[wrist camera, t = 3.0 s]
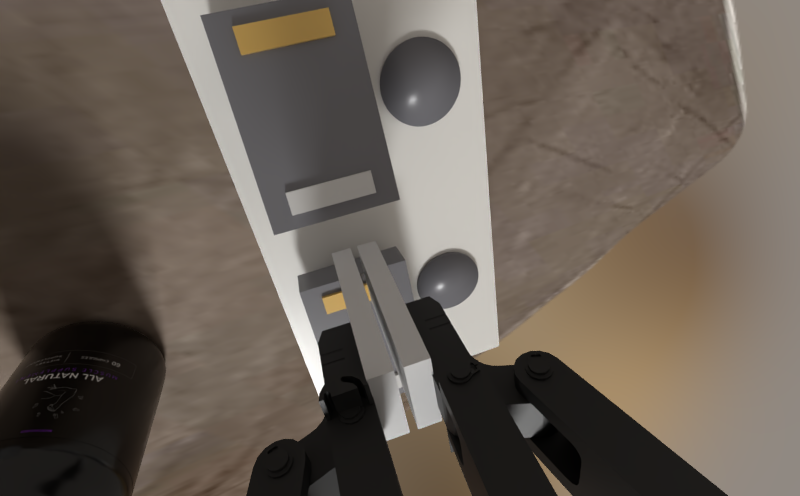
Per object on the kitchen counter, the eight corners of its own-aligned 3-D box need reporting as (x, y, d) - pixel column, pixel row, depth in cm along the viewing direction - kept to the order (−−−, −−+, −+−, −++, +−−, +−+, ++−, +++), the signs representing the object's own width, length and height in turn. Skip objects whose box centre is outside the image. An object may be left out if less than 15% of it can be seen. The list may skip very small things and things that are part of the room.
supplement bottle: (111, 295, 23) (-7, 516, 13) (192, 372, 26) (150, 591, 16) (-7, 356, 22) (-224, 632, 12) (91, 425, 26) (-15, 681, 16)
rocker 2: (337, 391, 22) (342, 416, 20) (297, 275, 19) (299, 294, 17) (421, 362, 22) (432, 384, 21) (395, 246, 19) (406, 261, 18)
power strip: (314, 350, 28) (326, 420, 23) (7, -464, 12) (-174, -811, 7) (465, 300, 30) (506, 355, 25) (378, -469, 14) (445, -747, 9)
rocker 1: (276, 227, 16) (273, 236, 14) (210, 29, 14) (199, 13, 13) (391, 195, 17) (401, 200, 15) (343, 3, 15) (348, -15, 13)
